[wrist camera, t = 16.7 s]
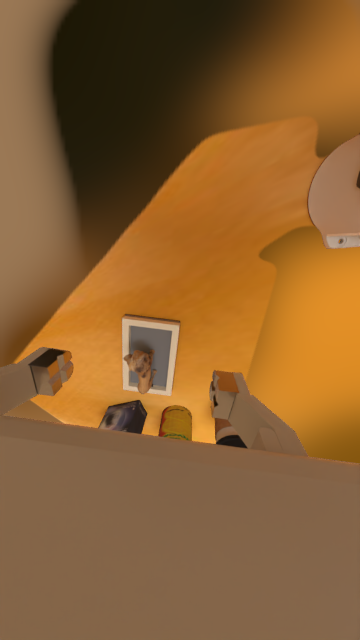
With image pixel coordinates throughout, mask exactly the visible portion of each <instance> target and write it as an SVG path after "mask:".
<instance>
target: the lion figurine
mask: <svg viewBox="0 0 360 640" xmlns="http://www.w3.org/2000/svg"><path fill="white" fill-rule="evenodd" d="M154 353H155V351H154V350H153V349H152V350H150V353H149V354H150V355H149V354H147V353H146V352H143V351H139V350H136V351H134V353H133V355H132V354H128V355H126V356H125V357H124V358H123V359H124V360H125V361H126V362H127V365H128V367H129V371H134V372H136V373H137V374H138V378H139V383H138V387H137V388H138V391H139V392H140V393H141V394H144V393H147V392H148V391H149V389H150V388H151V387H153V384H152V382H153V378H154V376H155V374H156V373H157V370H153V371H152V376H151V364H152V360H153V355H154ZM150 376H151V378H150Z"/></svg>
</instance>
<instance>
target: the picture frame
mask: <svg viewBox="0 0 360 640" xmlns="http://www.w3.org/2000/svg"><path fill="white" fill-rule="evenodd" d="M179 327H180V321H175V320H167V319H159V318H151V317H143V316H135V315H128V314H125V316H124V317H123V318H122V351H123V358H124V357H125V356H126V355H128V354H132V355H133V353H134V351H136V350H139V351H143V352H146V353H147V354H149V353H150V350H152V349H153V350H154V351H155V353H154V355H153V360H152V364H151V376H152V371H153V370H157V373H156V374H155V376H154V378H153V382H152V384H153V387H151V388H150V389H149V391H148V392H147V393H153V394H160V395H168V396H171V392H172V384H173V376H174V368H175V360H176V352H177V344H178V336H179ZM149 355H150V354H149ZM151 376H150V378H151ZM138 383H139V378H138V374H137V373H136V372H134V371H129V367H128V365H127V362H126V361H125V360H124V359H123V390H130V391H138V388H137V387H138ZM138 392H139V391H138Z"/></svg>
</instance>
